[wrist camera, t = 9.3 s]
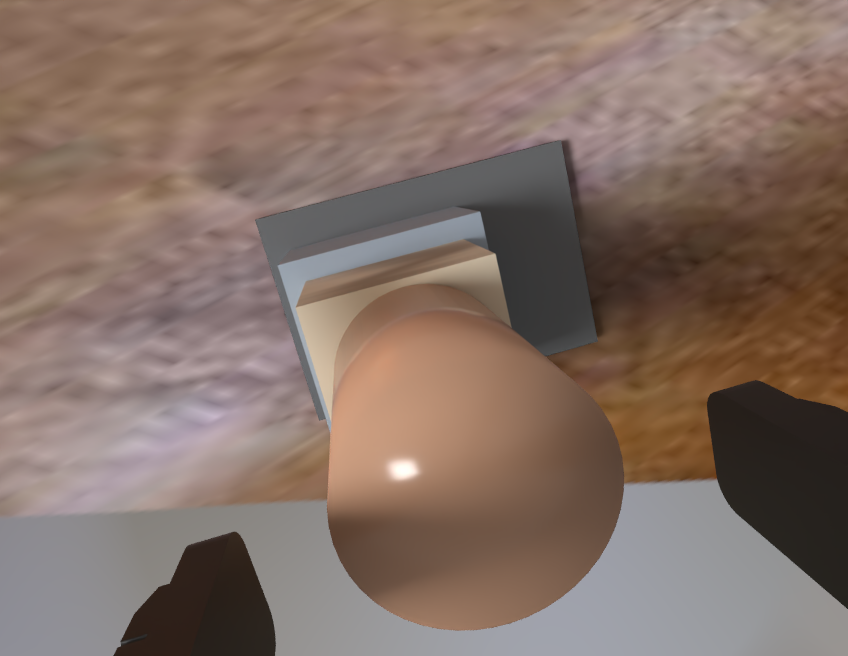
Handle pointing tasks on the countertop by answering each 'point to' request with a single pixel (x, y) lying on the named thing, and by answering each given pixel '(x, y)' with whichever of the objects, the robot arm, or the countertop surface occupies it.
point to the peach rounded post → (463, 464)
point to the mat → (504, 228)
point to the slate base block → (374, 254)
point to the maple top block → (354, 289)
